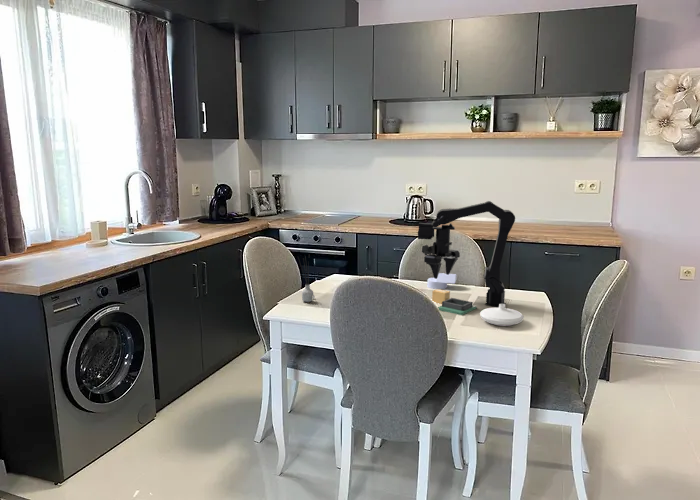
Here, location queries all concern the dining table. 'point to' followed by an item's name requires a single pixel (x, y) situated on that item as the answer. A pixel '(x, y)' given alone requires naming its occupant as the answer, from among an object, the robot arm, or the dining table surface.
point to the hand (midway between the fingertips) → (441, 276)
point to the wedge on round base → (441, 281)
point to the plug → (440, 295)
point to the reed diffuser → (307, 287)
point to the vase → (501, 316)
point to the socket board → (457, 306)
